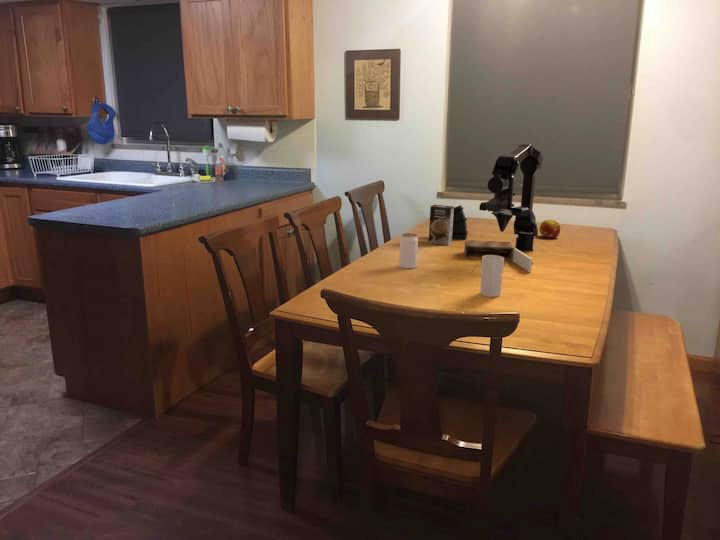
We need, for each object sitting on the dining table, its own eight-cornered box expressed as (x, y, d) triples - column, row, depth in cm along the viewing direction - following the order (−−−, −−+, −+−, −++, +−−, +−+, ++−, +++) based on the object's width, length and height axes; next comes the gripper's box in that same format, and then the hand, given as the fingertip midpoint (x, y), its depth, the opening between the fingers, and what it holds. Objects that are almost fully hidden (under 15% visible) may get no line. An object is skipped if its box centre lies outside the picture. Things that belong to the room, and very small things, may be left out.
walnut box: (509, 254, 245) (510, 242, 244) (511, 260, 236) (512, 247, 235) (464, 251, 248) (465, 239, 247) (464, 257, 238) (465, 245, 237)
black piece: (472, 237, 267) (459, 205, 266) (445, 247, 274) (433, 216, 273) (474, 235, 271) (462, 204, 270) (447, 245, 277) (435, 214, 276)
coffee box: (428, 243, 262) (429, 206, 258) (432, 240, 268) (433, 204, 264) (448, 245, 259) (450, 207, 255) (452, 242, 265) (454, 205, 261)
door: (511, 260, 235) (512, 247, 234) (516, 260, 236) (517, 247, 234) (528, 272, 219) (529, 258, 218) (533, 272, 219) (534, 258, 218)
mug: (479, 290, 197) (481, 254, 194) (500, 291, 196) (503, 255, 193) (479, 299, 187) (482, 262, 184) (502, 301, 186) (505, 263, 183)
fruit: (562, 239, 273) (564, 222, 271) (541, 239, 273) (543, 222, 271) (556, 235, 283) (557, 218, 280) (536, 235, 283) (538, 218, 281)
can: (418, 265, 226) (420, 233, 223) (414, 269, 220) (415, 237, 217) (401, 263, 228) (403, 232, 225) (397, 268, 222) (398, 235, 219)
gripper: (471, 189, 227) (468, 230, 231) (513, 195, 214) (510, 238, 218) (489, 186, 234) (486, 226, 238) (531, 192, 221) (528, 234, 225)
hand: (502, 231), depth 230 cm, fingers closed
